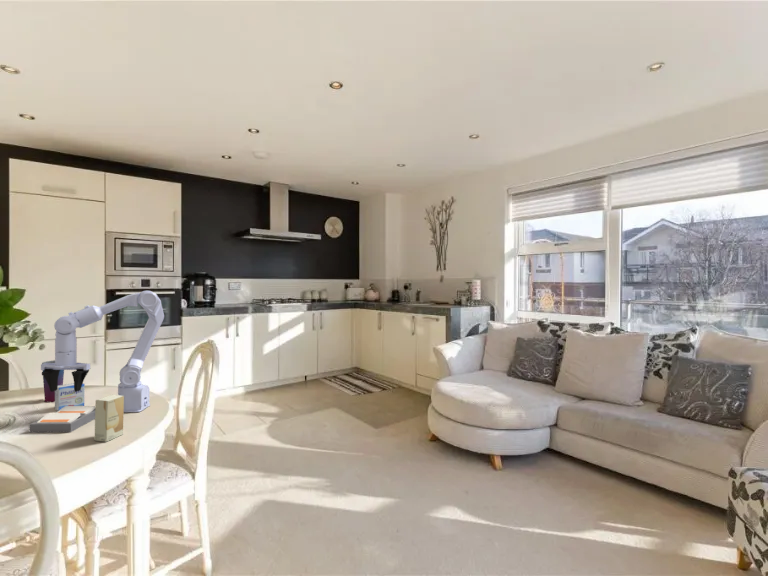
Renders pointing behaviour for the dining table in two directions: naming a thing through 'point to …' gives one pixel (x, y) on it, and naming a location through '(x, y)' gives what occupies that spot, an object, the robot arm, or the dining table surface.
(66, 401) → the medicine box
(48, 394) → the cup
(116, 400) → the skincare box
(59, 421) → the rocker
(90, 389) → the dining table surface
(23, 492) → the dining table surface
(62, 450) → the dining table surface
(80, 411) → the orange-striped cream panel
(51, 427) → the grey divided tray
